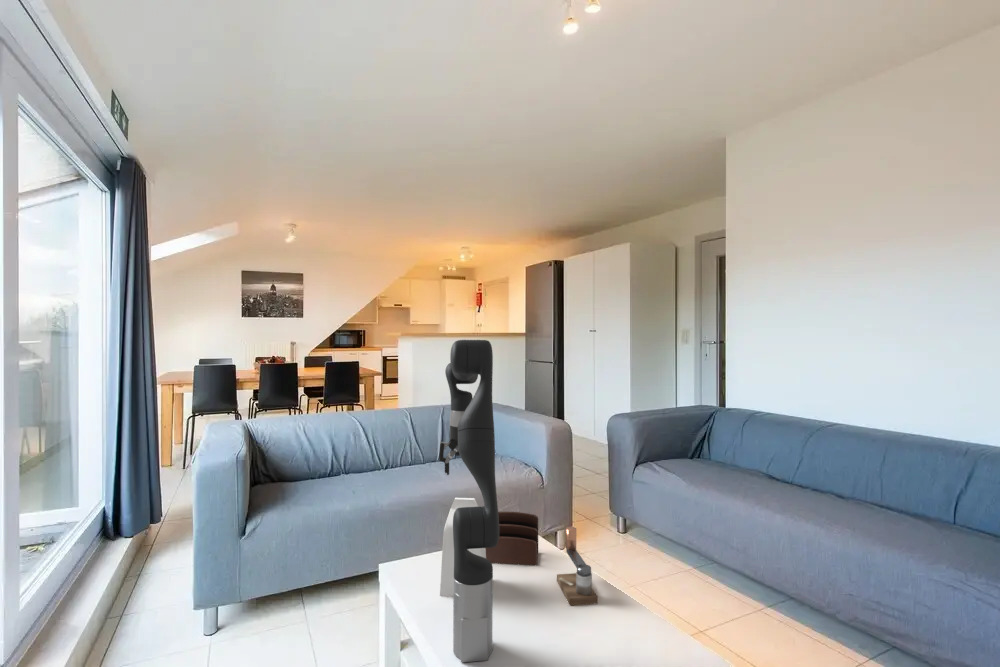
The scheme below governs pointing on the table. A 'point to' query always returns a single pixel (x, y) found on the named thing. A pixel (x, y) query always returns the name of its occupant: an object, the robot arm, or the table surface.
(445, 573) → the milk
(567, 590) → the press bench
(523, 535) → the letter holder
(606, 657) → the table surface
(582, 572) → the lever
